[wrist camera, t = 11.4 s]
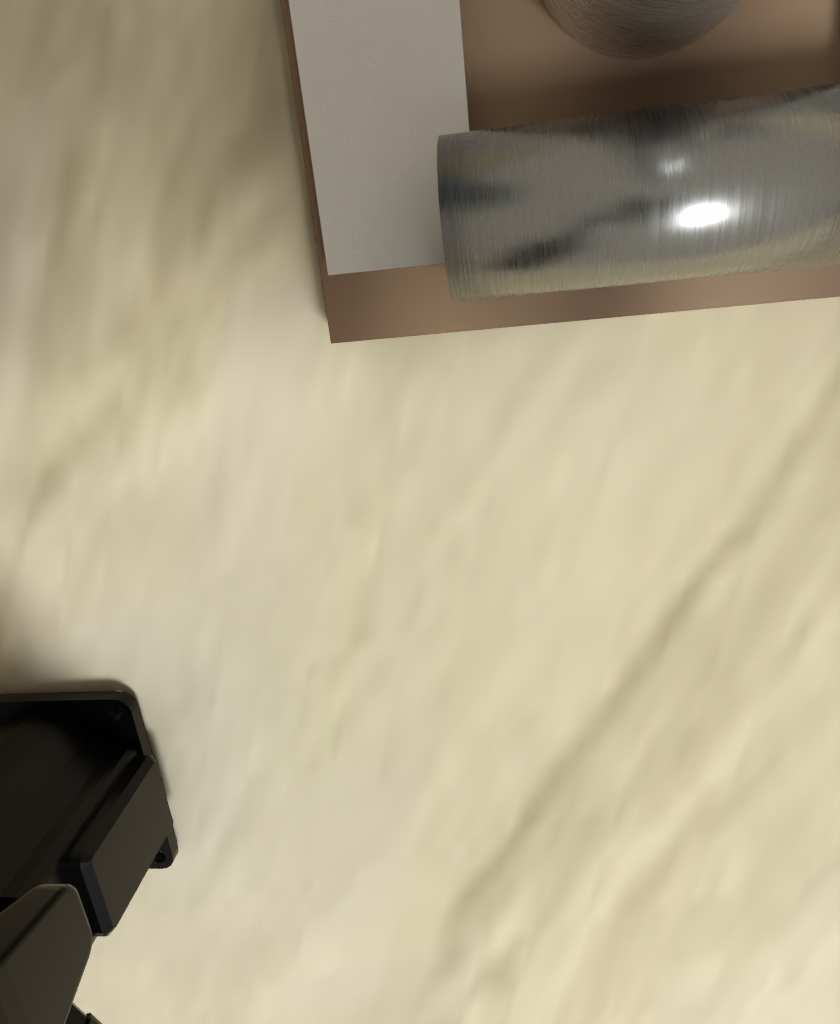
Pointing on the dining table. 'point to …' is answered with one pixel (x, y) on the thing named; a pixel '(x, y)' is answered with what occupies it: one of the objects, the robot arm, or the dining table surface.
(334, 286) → the board
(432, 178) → the hinge leaves
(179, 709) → the dining table surface
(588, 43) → the hinge barrel
